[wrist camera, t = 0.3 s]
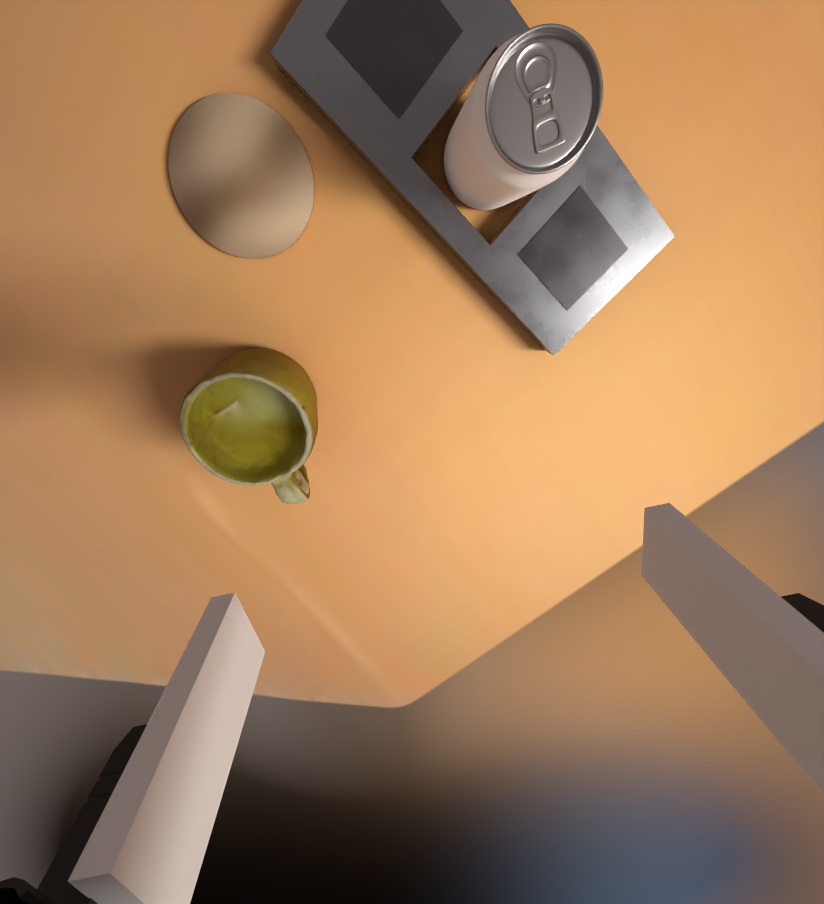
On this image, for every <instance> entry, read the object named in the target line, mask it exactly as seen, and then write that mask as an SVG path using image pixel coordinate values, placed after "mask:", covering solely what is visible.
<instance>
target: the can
mask: <svg viewBox="0 0 824 904" xmlns="http://www.w3.org/2000/svg"><path fill="white" fill-rule="evenodd" d="M602 100H603V80H602V73H601V69H600V65H599V62H598V59H597V57H596V55H595V53H594V51H593V49H592V47H591V46H590V44H589V43H588V42H587V41H586V40H585V38H584V37H583V36H581V35H580V34H579V33H578V32H576V31H575V30H573V29H571V28H569V27H567V26H564V25H560V24H542V25H538V26H535V27H532V28H530V29H528V30H526V31H524V32H523V33H520V34H518V35H516V36H514V37H512V38H511V39H509V40H508V41H506V42H505V43H504V44H503V45H501V46H500V47H499V48H498V49H497V50H496V51H495V53H494V54H493V55H492V56H491V57H490V58H489V60H488V61H487V63H486V64H485V66H484V67H483V69H482V71H481V72H480V74H479V76H478V78H477V80H476V81H475V83H474V85H473V87H472V89H471V91H470V93H469V95H468V97H467V99H466V101H465V103H464V105H463V107H462V109H461V111H460V113H459V114H458V116H457V118H456V120H455V123H454V125H453V127H452V129H451V131H450V133H449V136H448V138H447V142H446V146H445V151H444V169H445V175H446V178H447V181H448V184H449V186H450V188H451V190H452V191H453V193H454V194H455V195H456V197H457V198H458V199H459V200H460V201H461V202H463V203H464V204H466V205H467V206H469V207H471V208H474V209H478V210H492V209H496V208H499V207H501V206H504V205H506V204H508V203H510V202H513V201H515V200H517V199H519V198H521V197H523V196H525V195H528V194H530V193H532V192H534V191H536V190H538V189H540V188H542V187H544V186H546V185H548V184H550V183H551V182H553V181H555V180H556V179H558V178H559V177H560V176H562V175H563V174H564V173H565V172H566V171H567V170H568V169H569V168H570V167H571V166H572V165H573V164H574V163H575V162H576V160H577V159H578V157H579V156H580V154H581V153H582V151H583V149H584V148H585V146H586V144H587V143H588V141H589V140H590V138H591V136H592V134H593V132H594V130H595V128H596V125H597V122H598V119H599V116H600V112H601V107H602Z"/></svg>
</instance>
